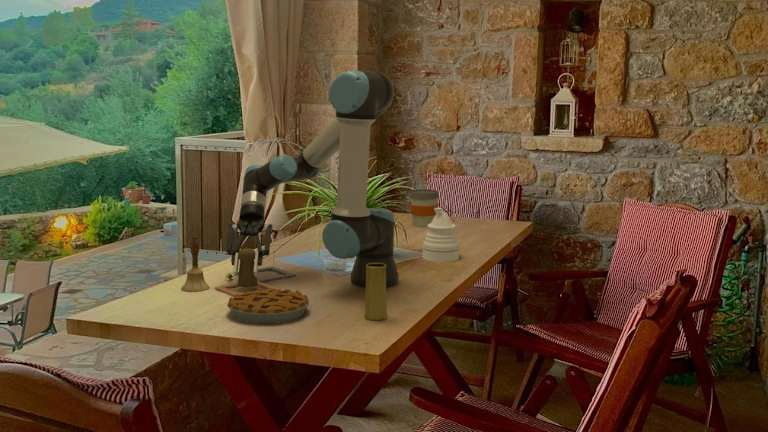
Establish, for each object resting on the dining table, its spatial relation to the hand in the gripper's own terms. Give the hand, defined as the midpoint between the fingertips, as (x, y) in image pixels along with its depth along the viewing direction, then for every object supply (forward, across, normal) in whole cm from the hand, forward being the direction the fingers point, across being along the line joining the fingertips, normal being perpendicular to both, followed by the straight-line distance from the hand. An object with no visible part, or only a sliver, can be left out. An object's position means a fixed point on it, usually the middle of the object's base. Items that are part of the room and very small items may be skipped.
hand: (245, 274), depth 235 cm
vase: (+21, -38, +12) cm, 45 cm away
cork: (+1, 0, -6) cm, 6 cm away
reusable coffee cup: (-76, -59, -85) cm, 128 cm away
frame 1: (+2, 0, -7) cm, 7 cm away
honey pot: (-31, -62, -40) cm, 80 cm away
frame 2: (-11, -3, -20) cm, 23 cm away
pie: (+18, -9, +10) cm, 23 cm away
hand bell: (0, +16, -8) cm, 18 cm away
